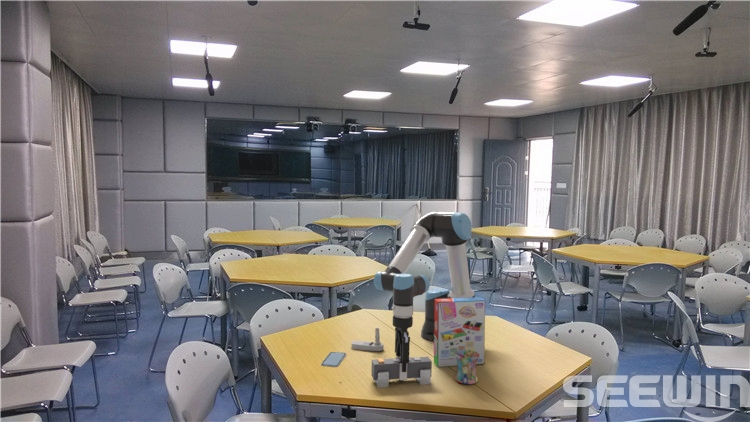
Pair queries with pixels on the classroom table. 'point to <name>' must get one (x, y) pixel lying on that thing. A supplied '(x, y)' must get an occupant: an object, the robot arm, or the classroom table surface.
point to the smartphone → (333, 359)
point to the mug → (466, 366)
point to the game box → (458, 329)
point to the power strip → (394, 367)
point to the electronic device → (369, 343)
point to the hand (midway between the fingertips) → (401, 376)
